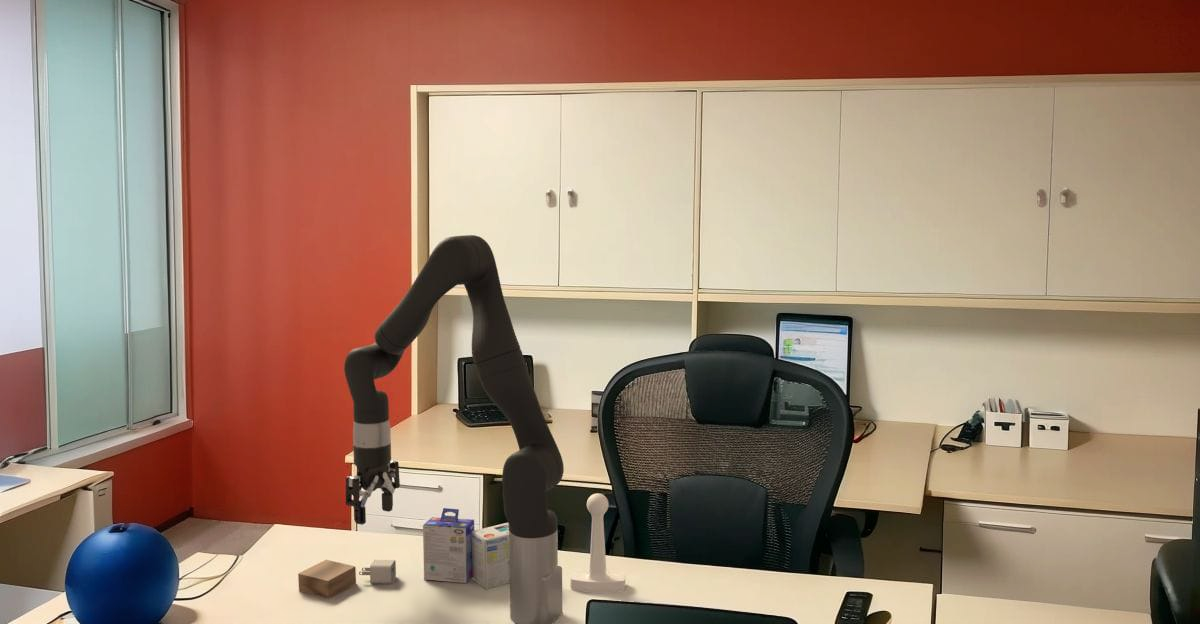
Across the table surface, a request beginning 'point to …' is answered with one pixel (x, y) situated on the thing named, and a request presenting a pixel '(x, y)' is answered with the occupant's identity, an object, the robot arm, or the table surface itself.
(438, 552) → the ink cartridge box
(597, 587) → the joystick
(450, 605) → the table surface
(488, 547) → the light bulb box
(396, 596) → the table surface
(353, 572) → the walnut block
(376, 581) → the usb wall charger
